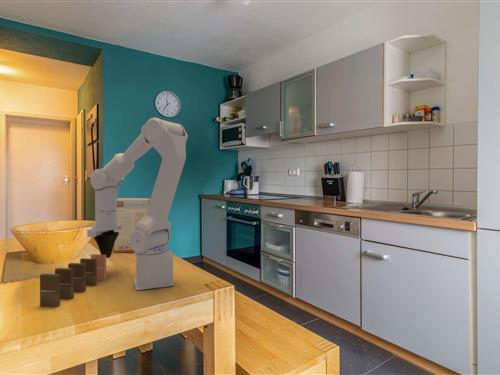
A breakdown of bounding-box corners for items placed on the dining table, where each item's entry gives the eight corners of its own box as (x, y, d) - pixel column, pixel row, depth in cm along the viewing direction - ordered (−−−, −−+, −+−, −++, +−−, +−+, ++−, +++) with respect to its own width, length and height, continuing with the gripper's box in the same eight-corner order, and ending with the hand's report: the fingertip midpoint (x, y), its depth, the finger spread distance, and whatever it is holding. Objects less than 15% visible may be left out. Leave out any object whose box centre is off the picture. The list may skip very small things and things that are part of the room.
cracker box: (153, 250, 122) (154, 198, 122) (147, 253, 116) (147, 199, 116) (120, 249, 123) (120, 197, 123) (112, 252, 117) (112, 198, 117)
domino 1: (43, 304, 68) (43, 273, 68) (60, 305, 68) (60, 274, 68) (40, 306, 67) (39, 275, 67) (56, 307, 67) (56, 275, 67)
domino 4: (82, 284, 82) (82, 258, 82) (96, 284, 81) (96, 258, 81) (80, 285, 81) (80, 259, 81) (94, 286, 80) (94, 259, 80)
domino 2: (58, 296, 73) (58, 267, 73) (73, 297, 72) (73, 268, 72) (55, 298, 72) (54, 269, 72) (70, 299, 71) (70, 269, 71)
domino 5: (92, 278, 86) (92, 254, 86) (106, 279, 86) (106, 254, 86) (90, 279, 85) (90, 255, 85) (104, 280, 85) (104, 255, 85)
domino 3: (71, 290, 77) (71, 262, 77) (85, 290, 77) (85, 263, 77) (68, 291, 76) (68, 263, 76) (83, 292, 76) (83, 264, 76)
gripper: (107, 208, 96) (107, 251, 97) (76, 213, 82) (76, 263, 82) (128, 208, 96) (128, 251, 96) (101, 213, 81) (101, 264, 82)
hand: (106, 257), depth 89 cm, fingers closed
